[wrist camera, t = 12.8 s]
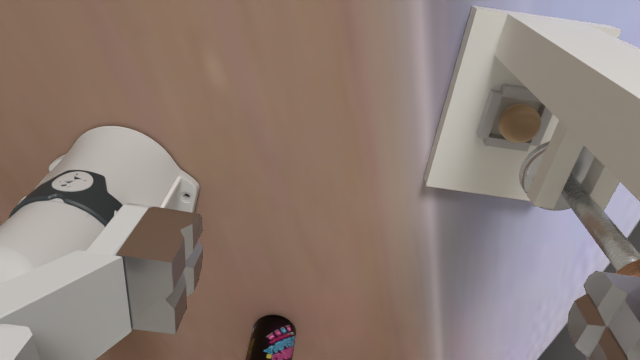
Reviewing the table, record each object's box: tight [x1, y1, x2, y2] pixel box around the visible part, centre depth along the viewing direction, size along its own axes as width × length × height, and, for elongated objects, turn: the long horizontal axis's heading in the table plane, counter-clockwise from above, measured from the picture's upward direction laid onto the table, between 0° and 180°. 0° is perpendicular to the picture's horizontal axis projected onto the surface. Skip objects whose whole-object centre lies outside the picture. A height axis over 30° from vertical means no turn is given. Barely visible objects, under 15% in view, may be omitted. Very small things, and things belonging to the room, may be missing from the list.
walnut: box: [499, 104, 541, 143], centre depth 47 cm, size 4×4×4 cm
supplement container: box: [245, 315, 296, 360], centre depth 66 cm, size 7×7×10 cm
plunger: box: [519, 141, 640, 277], centre depth 31 cm, size 6×6×17 cm
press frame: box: [424, 6, 640, 211], centre depth 37 cm, size 20×14×30 cm
